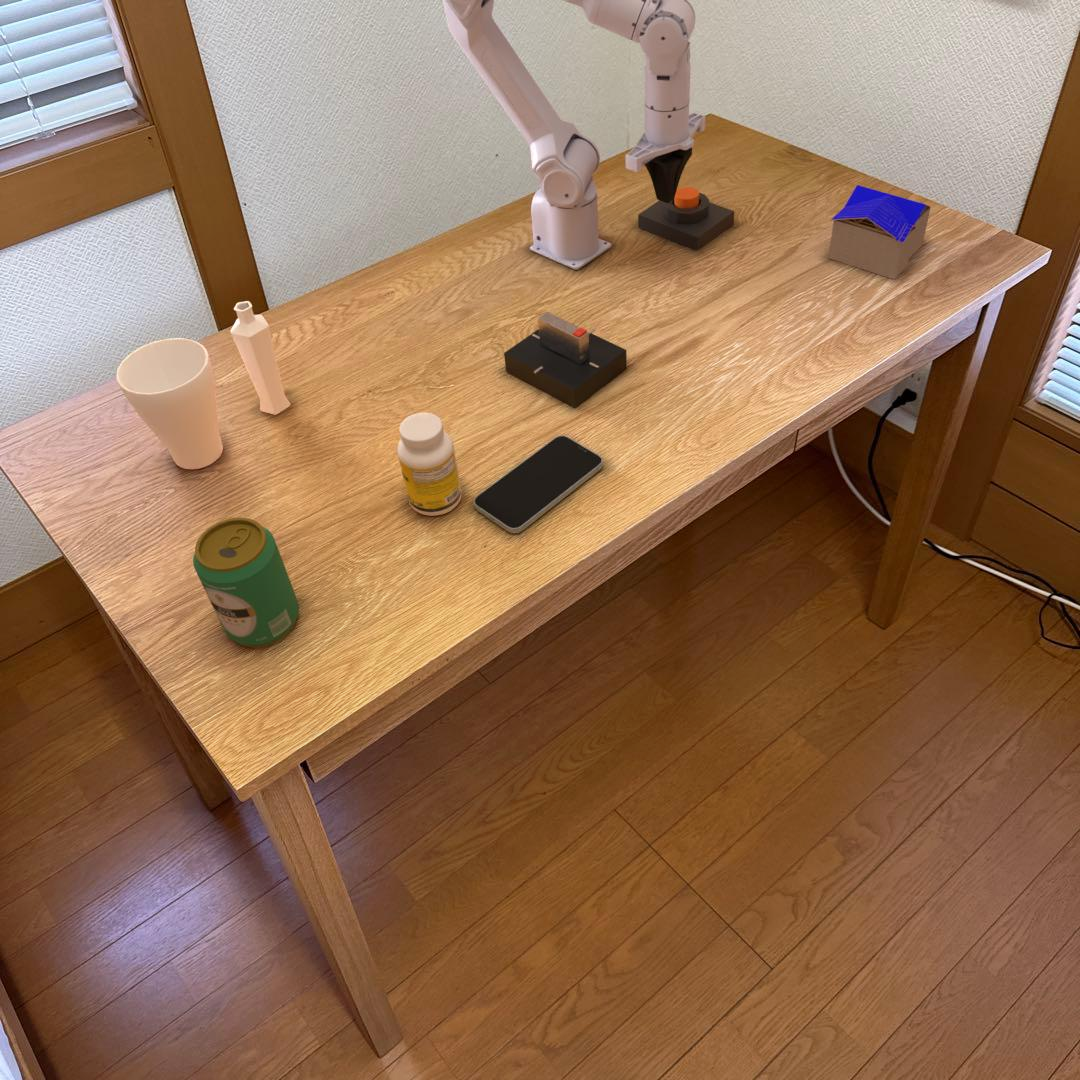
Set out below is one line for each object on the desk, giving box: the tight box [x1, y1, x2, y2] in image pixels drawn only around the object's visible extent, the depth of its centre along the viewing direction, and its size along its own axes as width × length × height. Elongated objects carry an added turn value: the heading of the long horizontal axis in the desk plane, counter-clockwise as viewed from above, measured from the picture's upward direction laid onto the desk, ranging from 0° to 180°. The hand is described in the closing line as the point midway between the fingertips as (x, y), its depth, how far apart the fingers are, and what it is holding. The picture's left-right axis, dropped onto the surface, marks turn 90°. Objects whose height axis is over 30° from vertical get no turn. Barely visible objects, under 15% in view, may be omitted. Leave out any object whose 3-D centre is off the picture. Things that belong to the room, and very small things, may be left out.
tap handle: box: [537, 311, 590, 365], centre depth 131 cm, size 7×2×4 cm, turn 46°
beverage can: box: [192, 517, 300, 649], centre depth 105 cm, size 8×8×12 cm
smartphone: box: [473, 435, 604, 534], centre depth 120 cm, size 7×1×15 cm
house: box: [827, 184, 932, 280], centre depth 145 cm, size 10×11×8 cm
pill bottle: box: [396, 412, 463, 517], centre depth 116 cm, size 6×6×11 cm
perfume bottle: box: [229, 300, 292, 416], centre depth 129 cm, size 5×4×15 cm
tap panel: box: [503, 328, 628, 409], centre depth 134 cm, size 12×11×3 cm
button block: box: [637, 192, 735, 251], centre depth 155 cm, size 11×9×4 cm
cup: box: [115, 337, 224, 470], centre depth 124 cm, size 10×10×14 cm
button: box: [674, 186, 700, 209], centre depth 153 cm, size 4×4×2 cm
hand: (665, 199), depth 144 cm, fingers closed
